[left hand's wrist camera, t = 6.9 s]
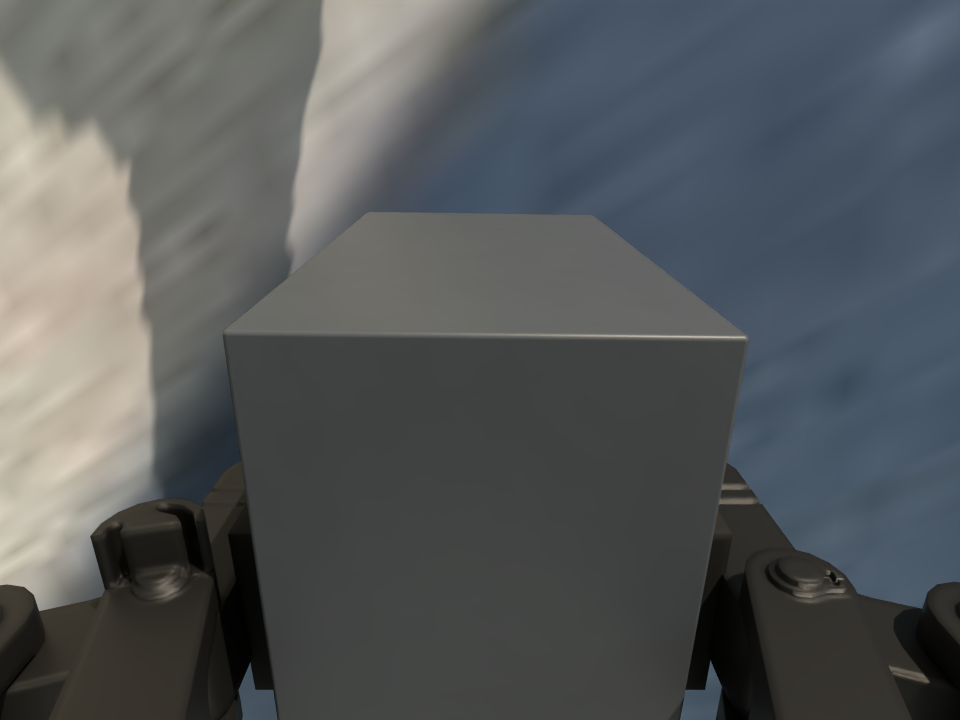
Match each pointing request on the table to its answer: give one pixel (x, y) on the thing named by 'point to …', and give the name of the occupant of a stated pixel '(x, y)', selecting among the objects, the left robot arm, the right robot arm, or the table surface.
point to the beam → (482, 470)
